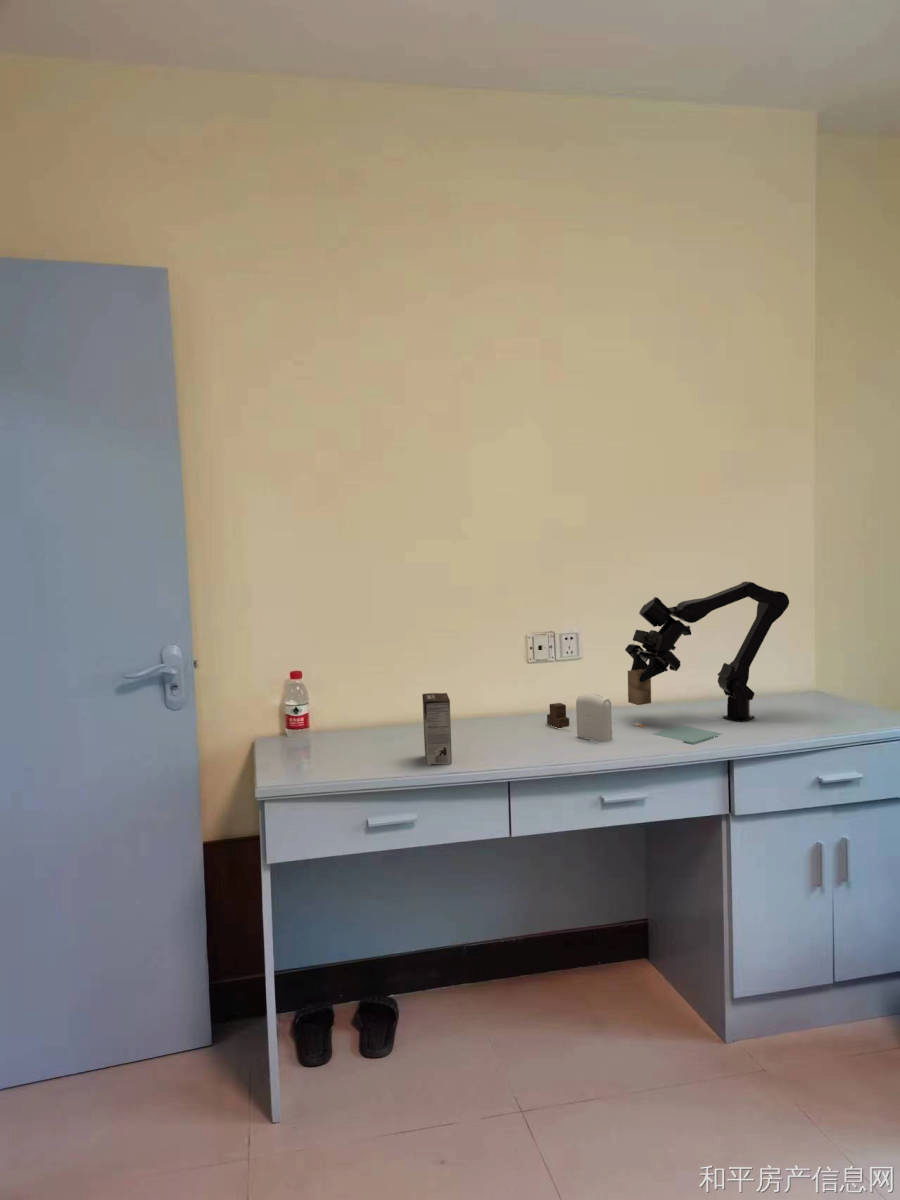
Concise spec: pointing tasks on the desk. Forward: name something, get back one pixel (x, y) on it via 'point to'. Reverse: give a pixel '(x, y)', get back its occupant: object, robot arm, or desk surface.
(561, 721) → the stack of crates
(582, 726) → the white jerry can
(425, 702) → the coffee box
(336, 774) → the desk surface
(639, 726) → the tile
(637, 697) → the walnut block
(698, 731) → the teal pad
